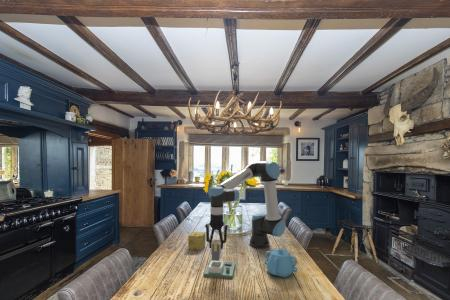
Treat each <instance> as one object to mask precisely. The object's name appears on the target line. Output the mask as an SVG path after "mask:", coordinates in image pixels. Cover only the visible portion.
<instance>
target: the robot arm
mask: <svg viewBox="0 0 450 300" xmlns="http://www.w3.org/2000/svg"><path fill="white" fill-rule="evenodd" d="M280 175H281V167H280V165H279V164H278V163H277V162H275V161H271V160H269V161H268V160H260V161H259V160H256V161H253V162H251V163H250V164H248V165H246V166H245V167H243V168H242V170H240V171H239V172H237V173H236V174H234V175H232V176H230V177H229V178H228V179H226V180H225V181H223V182H221V183H220V184H218V185H217V186H210V187H209V189H207V195H208V197H209V198H210V212H209V213H210V216H209V217H210V220H209V223H206V224H205V230H206V232H205V236H206V239H205V242H207V243H209V244H208V245H209V247H208V248H209V249H210V255H211V256H212V242H213V240H214V235H215V231H218V235H219V240H220V244H219V255H220V256H222V250H223V249H224V244H225V243H227V239H228V238H227V234H228V227H229V225H228V224H225V223H224V204H225V203H233V202H237V201H238V200H239V199H240V192H239V190H238V188H237V187H238V186H240V185H241V184H243V183H244V182H245V181H247V180H251V179H253V178H260V181H261V183H263V191H264V192H263V193H264V199H265V209H266V211H265V212H266V213H256V214H253V215H252V218H251V236H250V239H249V246H250V247H252V248H255V249H265V248H269V247H270V246H271V245H270V240H269V237H268V235H270V236H273V237H278V238H280V237H281V236H283V235H284V233H285V231H286V227H287V225H286V222H285V221H284V220H282V216H281V214H280V213H279V201H278V192H277V184H276V183H277V181H278V179H279V177H280ZM236 188H237V189H236ZM210 227H211V233H210ZM222 229H224V230H223V233H222Z"/></svg>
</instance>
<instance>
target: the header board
mask: <svg viewBox="0 0 450 300" xmlns="http://www.w3.org/2000/svg"><path fill="white" fill-rule="evenodd" d="M235 267H236V261H228V260H227V261H226V260H219V261H216V260H212V259H209V262H208V263H207V267H205V270H204V272H203V277H207V278H208V277H209V278H220V279H221V278H222V279H233V276H234V272H235Z"/></svg>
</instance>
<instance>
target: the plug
mask: <svg viewBox="0 0 450 300" xmlns="http://www.w3.org/2000/svg"><path fill="white" fill-rule="evenodd" d="M219 244H220V239H212V255H211V260H215V261H220V259H221V255H219Z"/></svg>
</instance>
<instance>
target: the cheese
mask: <svg viewBox="0 0 450 300" xmlns="http://www.w3.org/2000/svg"><path fill="white" fill-rule="evenodd" d="M187 239H188V242H187V243H188V244H187V248H188V250H197V251H203V248H204V247H205V245H206V232H204V231H203V232H201V231H200V232H197V231H192V232H191V233H190V234H189V235H188V238H187Z"/></svg>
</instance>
